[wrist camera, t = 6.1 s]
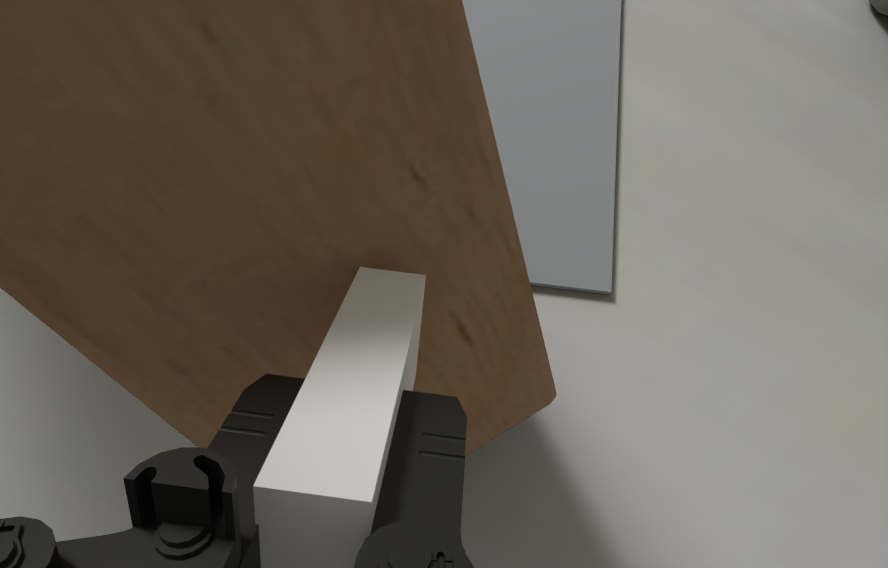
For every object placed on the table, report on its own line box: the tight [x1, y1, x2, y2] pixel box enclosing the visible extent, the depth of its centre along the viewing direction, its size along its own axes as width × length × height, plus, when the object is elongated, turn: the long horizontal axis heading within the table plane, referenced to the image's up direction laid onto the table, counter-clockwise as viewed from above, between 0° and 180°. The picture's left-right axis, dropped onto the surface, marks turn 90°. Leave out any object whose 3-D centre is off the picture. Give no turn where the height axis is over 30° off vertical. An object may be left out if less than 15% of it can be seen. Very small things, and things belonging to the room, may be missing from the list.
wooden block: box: [0, 0, 556, 455], centre depth 17 cm, size 10×10×20 cm
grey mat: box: [462, 0, 621, 295], centre depth 32 cm, size 22×18×1 cm
